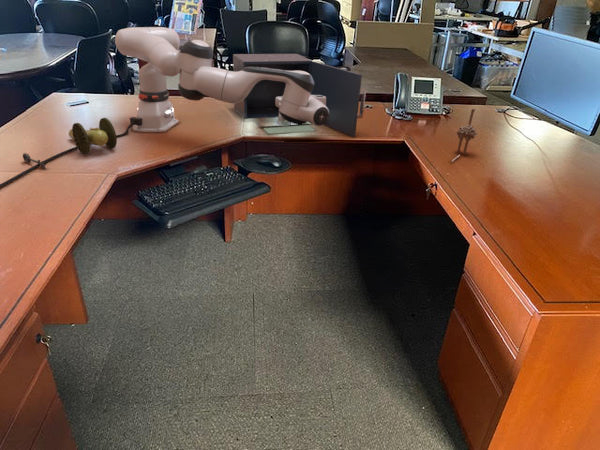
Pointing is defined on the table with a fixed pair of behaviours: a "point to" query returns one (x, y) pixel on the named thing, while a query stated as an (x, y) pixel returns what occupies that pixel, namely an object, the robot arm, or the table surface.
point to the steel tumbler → (282, 121)
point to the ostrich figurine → (466, 134)
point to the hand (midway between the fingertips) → (293, 97)
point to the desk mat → (288, 129)
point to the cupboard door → (339, 96)
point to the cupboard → (266, 82)
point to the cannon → (93, 136)
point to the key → (28, 159)
